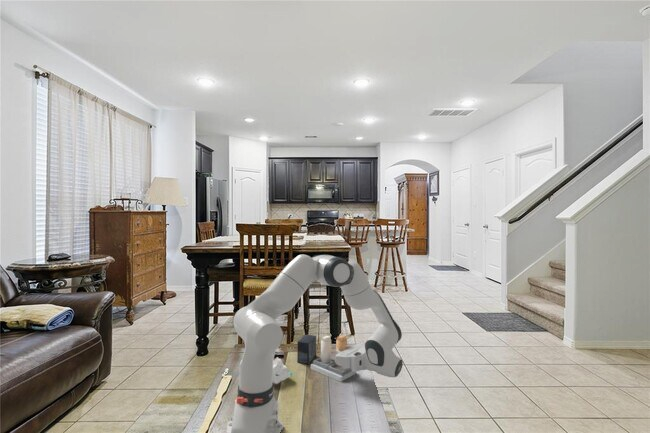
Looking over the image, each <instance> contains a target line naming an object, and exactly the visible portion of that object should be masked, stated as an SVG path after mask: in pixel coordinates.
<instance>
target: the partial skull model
mask: <svg viewBox="0 0 650 433" xmlns="http://www.w3.org/2000/svg"><path fill="white" fill-rule="evenodd" d="M287 367H288V366H286V365H285V364H284V363H283V361H282V359H281V358H279V356H277V357H276V358H274V360H273V384H274V385H278V384H279V383H281V382H282V381H284V380H287V379H289V377H290V376H292V374H293V373H292V371H291V370H289V369H288V368H287Z"/></svg>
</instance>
